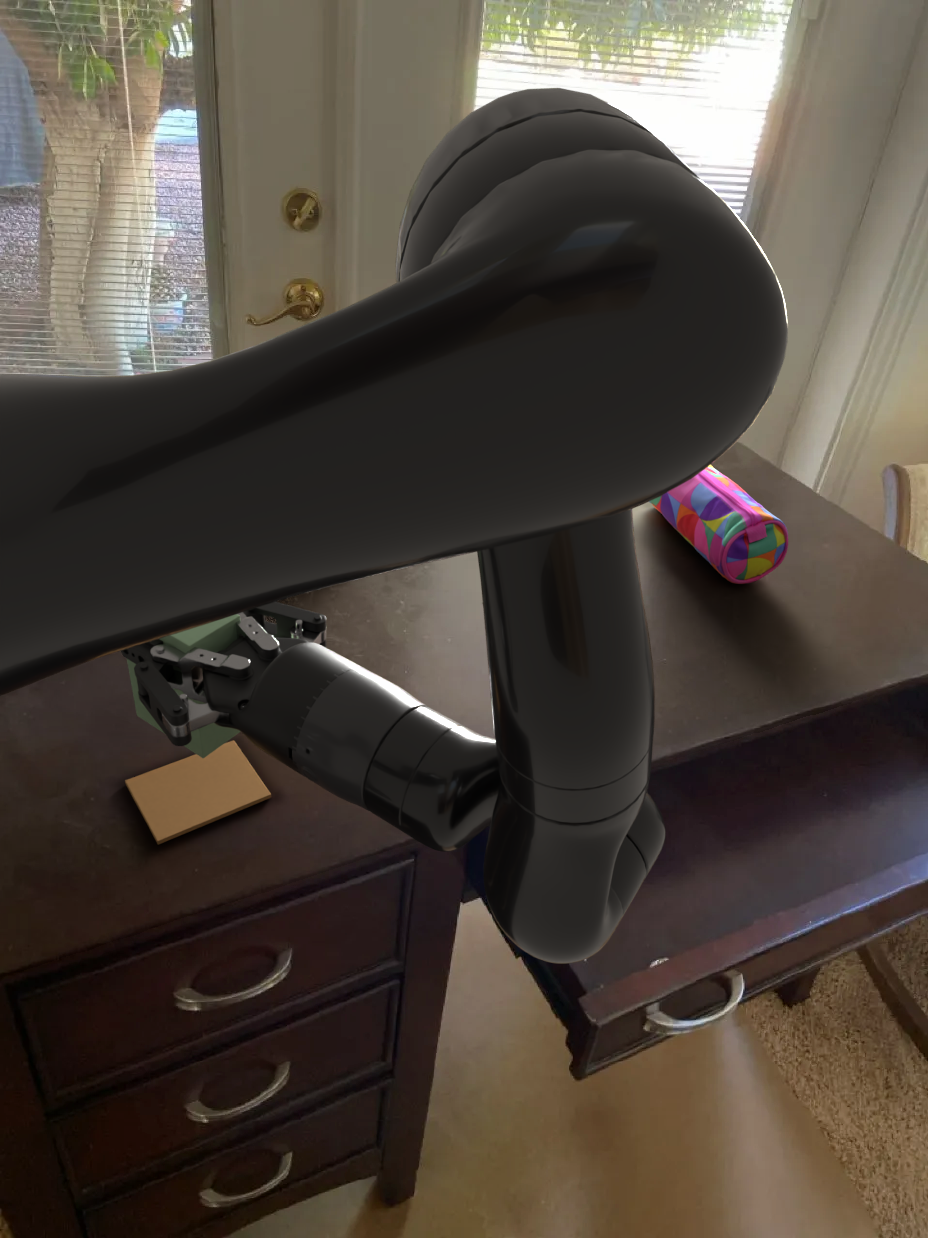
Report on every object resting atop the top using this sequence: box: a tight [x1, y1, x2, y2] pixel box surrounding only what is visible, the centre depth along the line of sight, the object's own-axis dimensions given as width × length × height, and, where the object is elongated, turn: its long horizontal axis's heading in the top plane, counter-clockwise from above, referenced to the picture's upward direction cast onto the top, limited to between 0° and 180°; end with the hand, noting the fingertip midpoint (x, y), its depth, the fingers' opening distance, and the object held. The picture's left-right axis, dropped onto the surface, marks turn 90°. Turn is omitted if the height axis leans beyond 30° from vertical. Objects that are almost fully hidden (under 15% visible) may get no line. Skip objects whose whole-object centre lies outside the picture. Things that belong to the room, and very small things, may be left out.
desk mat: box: [124, 740, 272, 845], centre depth 69 cm, size 9×7×1 cm
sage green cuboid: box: [126, 614, 242, 758], centre depth 62 cm, size 4×7×10 cm, turn 55°
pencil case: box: [648, 464, 789, 585], centre depth 106 cm, size 22×9×9 cm, turn 20°
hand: (154, 618), depth 61 cm, fingers closed on sage green cuboid, 4 cm apart
